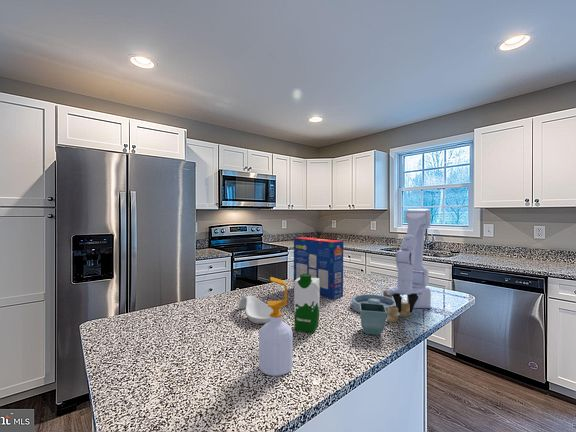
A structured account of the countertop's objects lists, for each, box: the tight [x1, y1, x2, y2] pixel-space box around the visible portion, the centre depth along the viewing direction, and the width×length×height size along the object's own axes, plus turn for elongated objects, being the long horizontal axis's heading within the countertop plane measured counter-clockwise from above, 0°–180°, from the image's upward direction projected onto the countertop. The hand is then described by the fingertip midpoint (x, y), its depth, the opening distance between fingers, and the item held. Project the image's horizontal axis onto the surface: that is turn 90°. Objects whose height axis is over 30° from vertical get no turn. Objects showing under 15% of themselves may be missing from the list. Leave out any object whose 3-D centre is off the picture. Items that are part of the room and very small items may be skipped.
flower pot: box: [359, 303, 387, 336], centre depth 104 cm, size 9×9×9 cm
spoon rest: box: [237, 294, 273, 325], centre depth 119 cm, size 24×12×7 cm, turn 33°
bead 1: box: [382, 289, 393, 298], centre depth 139 cm, size 4×4×5 cm
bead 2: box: [386, 306, 399, 324], centre depth 115 cm, size 4×4×5 cm
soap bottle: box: [258, 276, 294, 377], centre depth 80 cm, size 9×9×25 cm
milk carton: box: [293, 274, 321, 334], centre depth 107 cm, size 9×9×20 cm
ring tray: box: [350, 293, 396, 317], centre depth 130 cm, size 20×20×4 cm
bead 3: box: [398, 301, 411, 318], centre depth 121 cm, size 4×4×5 cm
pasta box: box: [293, 236, 344, 300], centre depth 155 cm, size 28×8×28 cm, turn 42°
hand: (404, 312), depth 121 cm, fingers closed on bead 3, 4 cm apart
